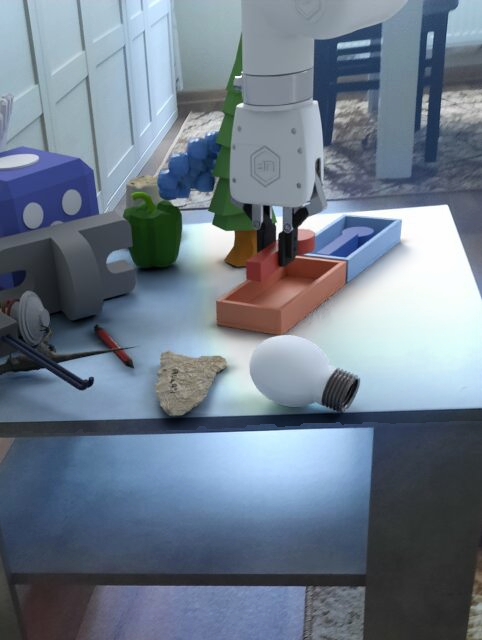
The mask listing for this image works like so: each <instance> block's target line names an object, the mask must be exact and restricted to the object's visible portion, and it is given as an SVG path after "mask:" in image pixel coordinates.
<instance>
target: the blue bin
mask: <svg viewBox="0 0 482 640" xmlns="http://www.w3.org/2000/svg"><path fill="white" fill-rule="evenodd" d="M402 223H403V219H402V218H393V217H392V218H389V217H380V216H379V217H378V216H370V215H369V216H367V215H357V214H344V213H343V214H342V215H340V216H339V217H337V218H336V219H335V220H334V219H333V221H331V222H330V223H328V224H326V225H325V226H324V227H323V228H321V229H319V230H318V231H316V232H315V249H314V251H312V252H310V253H308V254H304V255H296V256H302V257H311V258H320V259H328V260H337V261H345V262H346V279H345V284H348V283H349V282H351V281H352V280H353V279H355V278H356V277H358V275H360V274H361V273H362V272H363V271H365V270H366V269H367V268H368V267H370V266H371V265H372V264H374V263H375V262H376V261H377V260H378V259H380V258H381V257H383V256H384V255H385V254H387V252H388V251H390V250H392V249H393V248H394V247H395V246H396V245H398V244H399V243H400V242H401V236H402ZM351 227H368V228H371V229H373V230H374V237H373V238H372V239H370V240H369V241H368V242H366V243H365V244H364V245H362V246H361V247H360V248H358V249H357V250H356V251H354V252H353V253H352V254H350V255H349V256H348V257H346V258H344V257H335V256H327V255H318V254H316V253H317V252H318V251H320V250H321V249H323V248H324V247H326V246H327V245H328V244H330V243H331V242H333V241H334V240H335V239H337V238H338V237H340V236H341V235H342V231H343V230H345V229H347V228H351Z"/></svg>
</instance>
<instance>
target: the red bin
mask: <svg viewBox="0 0 482 640" xmlns="http://www.w3.org/2000/svg"><path fill="white" fill-rule="evenodd" d="M345 279H346V262H345V261H337V260H328V259H320V258H311V257H302V256H296V257H295V259H294V261H292V262H291V263H289V264H288V265H287V266H285V267H280V268H279V269H277V270H276V271H275V272H273V273H272V274H271V275H269V276H268V277H267V278H265V279H264V280H262V281H261V282H260V281H253V280H247V279H245V281H243V282H242V283H240V284H238V285H237V286H236V287H234V288H232V289H231V290H229V291H228V292H227V293H225V294H224V295H222V296H221V297H219V298H218V299H217V300H215V313H216V325H217V326H221V327H228V328H233V329H240V330H246V331H252V332H257V333H263V334H264V333H265V334H269V335H275V336H281V335H285V334H286V333H287V332H288V331H289V330H291V328H293V327H294V326H295V325H297V324H298V323H299V322H301V321H302V320H303V319H304V318H306V316H308V315H310V314H311V313H312V312H313V311H314V310H315V309H316V308H318V307H319V306H320V305H322V304H323V303H324V302H326V301H327V300H329V299H330V297H333V295H334V294H336V293H337V292H338V291H340V290H341V289H342V288H343V287H345V286H346V283H345Z"/></svg>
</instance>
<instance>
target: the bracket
mask: <svg viewBox="0 0 482 640" xmlns="http://www.w3.org/2000/svg"><path fill="white" fill-rule="evenodd" d="M132 246H133V244H132V232H131V225H130V223H129V222H128V221H127V220H125V219H124V218H123V215H121V214H120V213H119V212H117V211H115V210H112V211H107V212H103V213H99V214H98V215H94V216H90V217H86V218H82V219H78V220H73V221H69V222H65V223H61V224H57V225H53V226H49V227H45V228H40V229H36V230H32V231H28V232H24V233H20V234H16V235H11V236H7V237H3V238H0V275H2V274H6V273H10V272H14V271H18V270H25V271H26V278H25V280H24V281H23V283H22V284H21V285H19V286H17V287H14V288H10V289H7V290H3V291H1V290H0V302H1V306H2V304H3V302H4V301H5V300H10V301H11V300H12V299H14V298H18V299H21V297H22V295H23V294H24V293H25V292H27V291H32V292H34V293H35V294H37V296H38V297H39V298H40V299H41V302H42V304H43V307H44V309H46V310H47V311H48V312H49V315H51V314H54V313H57V312H62V313H63V314H64V315H65V316H66V317H67V318H68V319H69V320H70V321H76V320H81V319H84V318H88V317H90V316H95V315H99V314H101V312H102V311H103V307H104V300H106V299H110V298H114V297H118V296H121V295H124V294H125V295H126V294H129V293H131V292H132V291H134V290H135V288H136V285H137V280H136V269H135V267H133V265H131V263H129V262H128V261H127V260H126V259H125V258H124V259H120V260H116V261H112V262H108V263H107V261H108V258H109V256H110V255H111V254H112V253H113V252H116V251H119V250H120V251H121V250H123V249H128V247H132ZM13 304H14V303H13ZM8 305H9V304H7V305H6V308H8Z"/></svg>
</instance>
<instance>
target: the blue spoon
mask: <svg viewBox="0 0 482 640" xmlns="http://www.w3.org/2000/svg"><path fill="white" fill-rule="evenodd" d="M373 237H374V230H373V229H371V228H368V227H351V228H347V229H345V230H343V231H342V235H341V236H340V237H338V238H337V239H335V240H334V241H333V242H331V243H330V244H328V245H327V246H326V247H324V248H323V249H321V250H320V251H318V252H317V253H316V254H318V255H327V256H335V257H344V258H346V257H348V256H349V255H350V254H352V253H353V252H354V251H356V250H357V249H358V248H360V247H361V246H362V245H364V244H365V243H366V242H368V241H369V240H370V239H372V238H373Z"/></svg>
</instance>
